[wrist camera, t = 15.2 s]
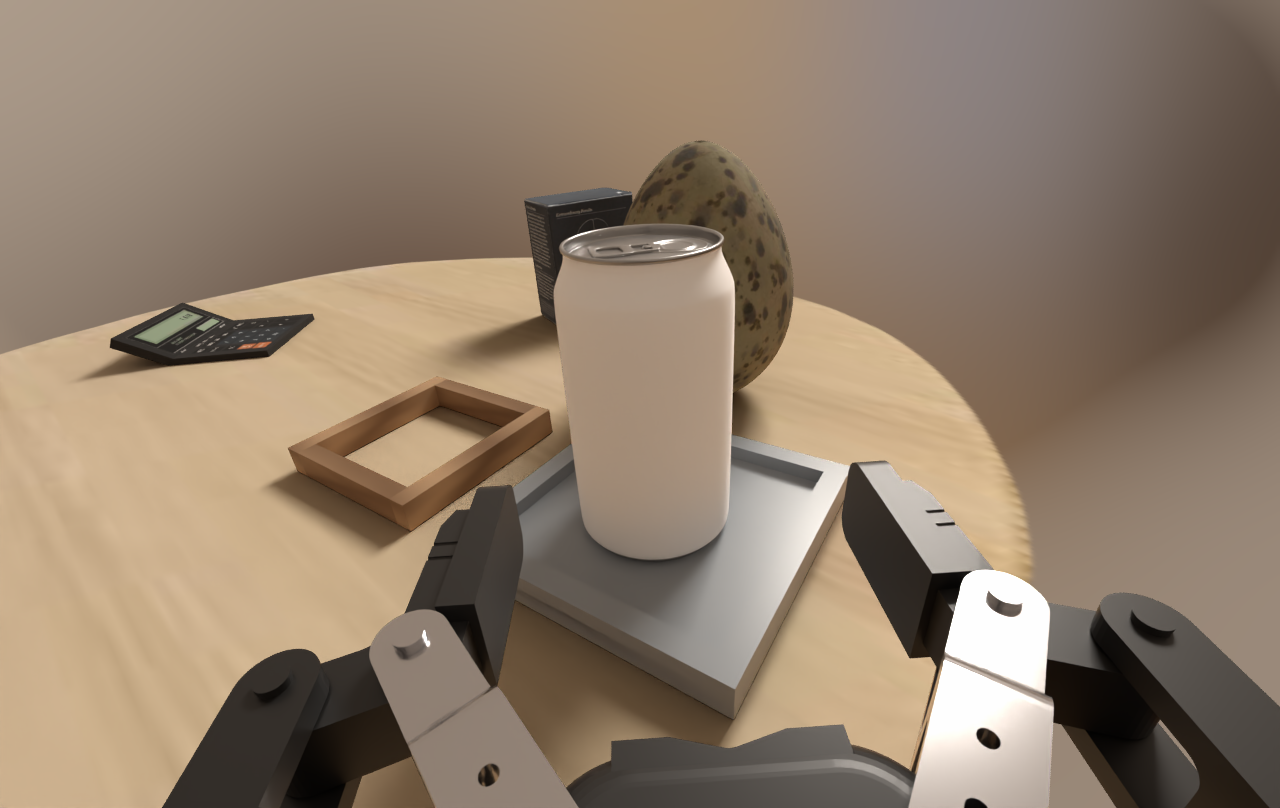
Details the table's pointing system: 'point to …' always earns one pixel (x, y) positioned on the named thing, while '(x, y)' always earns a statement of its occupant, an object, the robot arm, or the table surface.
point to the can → (648, 384)
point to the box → (568, 230)
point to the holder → (444, 484)
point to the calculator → (206, 336)
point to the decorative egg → (729, 241)
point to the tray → (684, 571)
